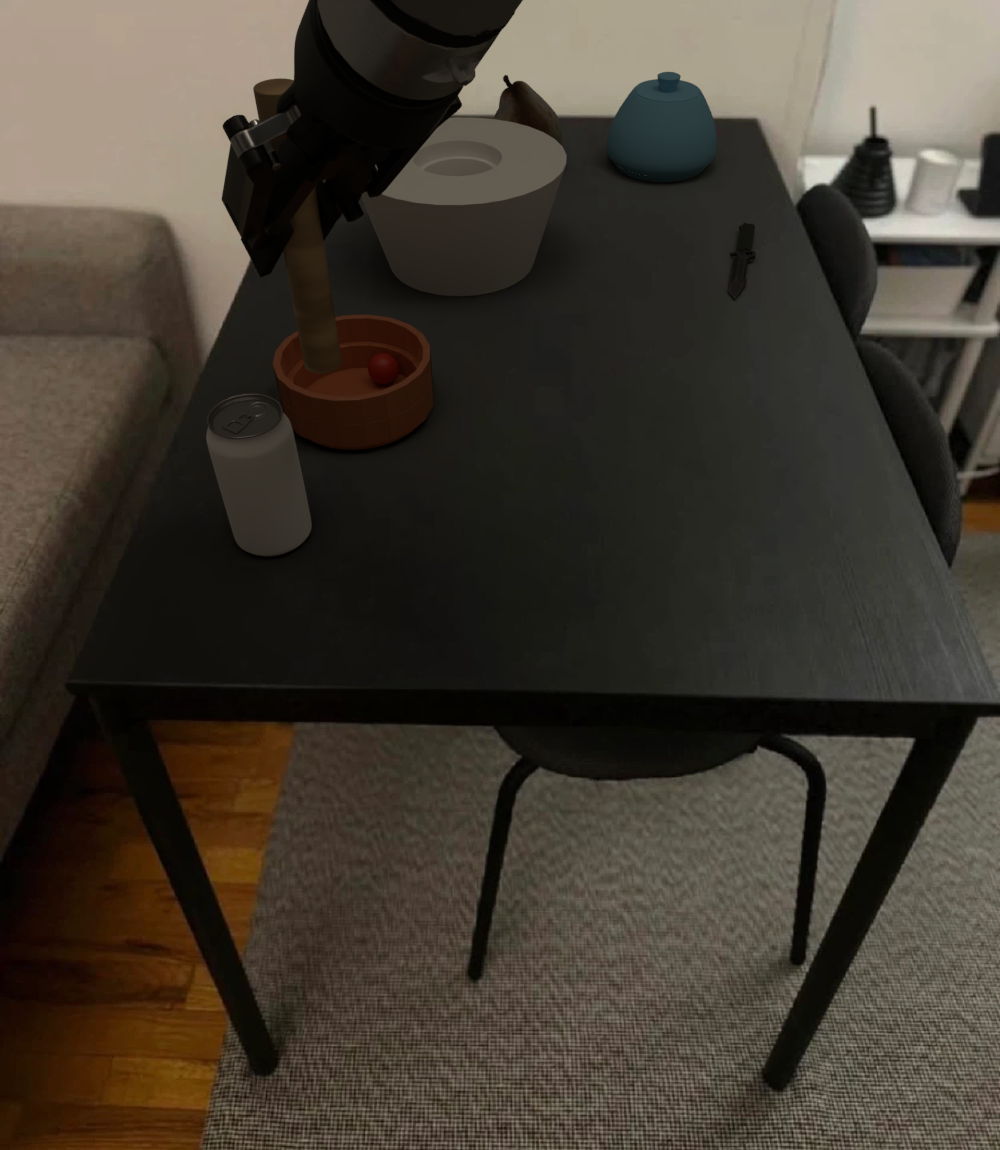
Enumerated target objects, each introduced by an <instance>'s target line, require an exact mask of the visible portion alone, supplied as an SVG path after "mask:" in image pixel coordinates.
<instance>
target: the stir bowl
mask: <svg viewBox="0 0 1000 1150" xmlns="http://www.w3.org/2000/svg"><path fill="white" fill-rule="evenodd" d="M335 319H336V326H337V333H338V339H339V346H340V353H341V359H342V363H341V365H340V367H339V368H337V369H336V370H334V371H332V372H329V373H322V374H318V373H312V372H310V371H308V370H307V369H306V368H305V366H304V362H303V356H302V351H301V345H300V340H299V334H298V330H296V331H294V332H293V333H292V334H290V335H288V336H287V337H285V338H284V339H283V341H282V342H281V343H280V345H279V346H278V347H277V348H276V349H275V352H274V356H273V360H272V368H273V373H274V378H275V383H276V387H277V392H278V397H279V403H280V404H281V406H282V409H283V413H284V414H285V415H286V416H287V417H288V419H289V420H290V423H291V426H292V430H293V432H295V433H296V434H297V435H298V436H300V437H302V438H304V439H306V440H308V441H310V442H312V443H314V444H316V445H320V446H322V447H326V448H329V449H335V450H345V451H358V450H368V449H373V448H379V447H381V446H386V445H390V444H391V443H394V442H397V441H398V440H399V441H400V440H401V439H402V438H404V437H406V436H408V435H409V434H411V433H412V432H413V431H414V430H415V429H416V428H418V427H419V426H420V425H421V424H423V422H425V420H427V418H428V416H429V415H430V412H431V411H432V409H433V407H434V379H433V366H432V351H431V345H430V343H429V342H428V339H427V338H426V336H425V334H424V333H422V332H421V331H420V330H419V329H417V328H416V327H415V326H413V325H411V324H410V323H407V322H404V321H402V320H399V319H396V318H394V317H390V316H382V315H377V314H376V315H375V314H343V315H338V316H335ZM379 353H387V354H389V355H391V356H393V357H394V358H395V360H396V361H397V363H398V368H399V370H398V375H397V377H396V378H395V380H394V381H392V382H391V383H389V384H378V383H376V382H375V381H373V380H372V379H371V377H370V376H369V373H368V363H369V361H370V359H371V358H372V357H373V356H374V355H376V354H379Z"/></svg>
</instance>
